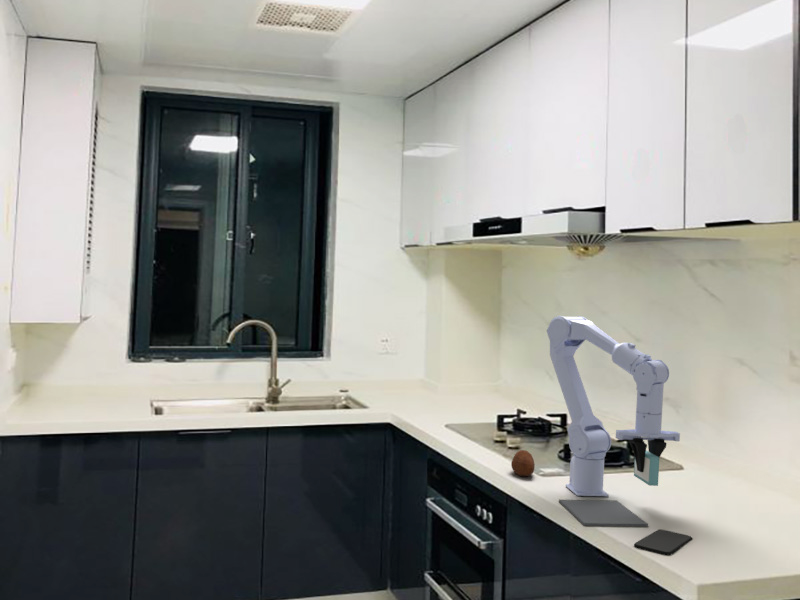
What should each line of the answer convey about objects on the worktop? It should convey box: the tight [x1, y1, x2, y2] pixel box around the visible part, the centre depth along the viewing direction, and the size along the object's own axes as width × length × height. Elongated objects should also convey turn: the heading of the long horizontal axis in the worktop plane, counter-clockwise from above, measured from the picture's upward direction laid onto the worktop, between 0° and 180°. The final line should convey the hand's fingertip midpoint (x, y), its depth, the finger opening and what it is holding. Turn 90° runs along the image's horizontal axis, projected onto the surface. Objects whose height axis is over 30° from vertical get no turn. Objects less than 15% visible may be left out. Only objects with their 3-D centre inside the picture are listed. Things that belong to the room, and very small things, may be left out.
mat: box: [558, 499, 649, 528], centre depth 176 cm, size 18×14×1 cm
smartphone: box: [633, 528, 693, 556], centre depth 157 cm, size 7×1×15 cm
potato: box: [511, 449, 535, 477], centre depth 209 cm, size 6×12×6 cm, turn 7°
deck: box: [633, 450, 661, 487], centre depth 181 cm, size 9×2×6 cm, turn 5°
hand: (645, 471), depth 182 cm, fingers closed on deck, 2 cm apart
